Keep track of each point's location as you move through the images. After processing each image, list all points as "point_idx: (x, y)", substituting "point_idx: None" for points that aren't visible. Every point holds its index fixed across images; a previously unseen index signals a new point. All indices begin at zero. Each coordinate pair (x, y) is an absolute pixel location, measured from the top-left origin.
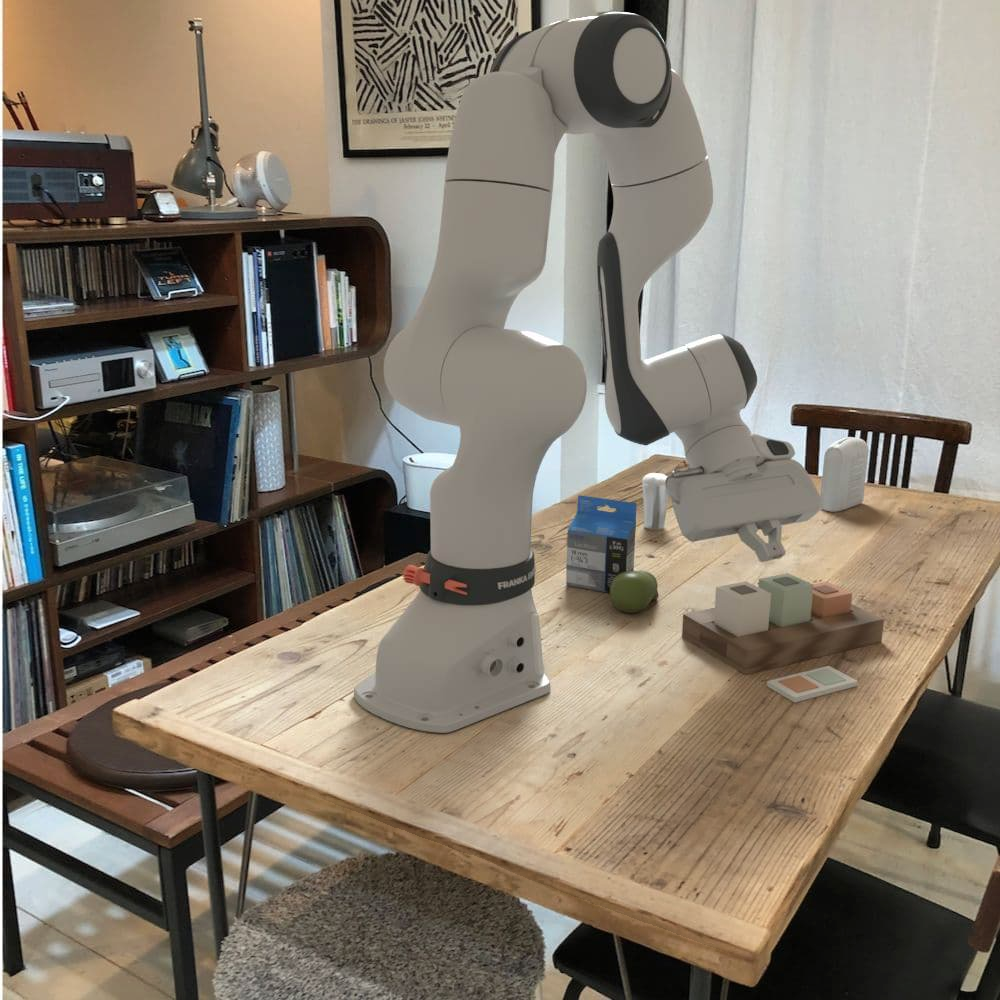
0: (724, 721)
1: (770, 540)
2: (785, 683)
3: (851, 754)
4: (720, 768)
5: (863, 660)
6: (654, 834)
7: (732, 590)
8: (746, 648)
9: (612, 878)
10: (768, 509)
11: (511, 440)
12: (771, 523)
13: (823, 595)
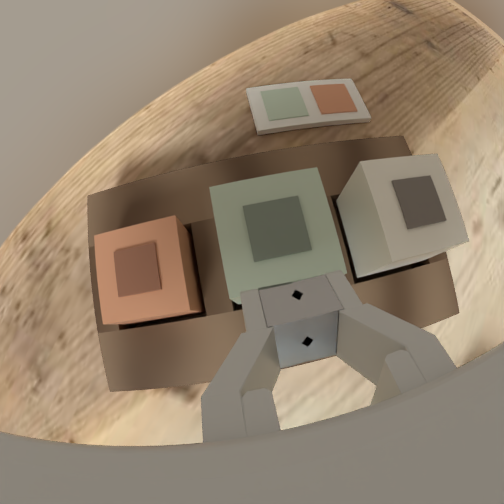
0: (431, 85)
1: (268, 385)
2: (351, 102)
3: (331, 18)
4: (438, 45)
5: (180, 155)
6: (471, 31)
7: (442, 208)
8: (402, 142)
9: (482, 25)
10: (293, 486)
11: None
12: (271, 416)
13: (163, 237)
